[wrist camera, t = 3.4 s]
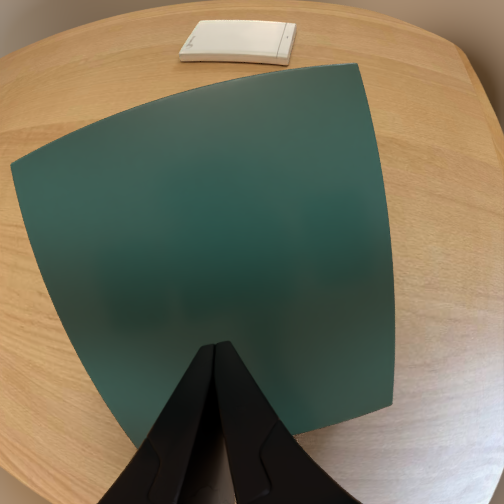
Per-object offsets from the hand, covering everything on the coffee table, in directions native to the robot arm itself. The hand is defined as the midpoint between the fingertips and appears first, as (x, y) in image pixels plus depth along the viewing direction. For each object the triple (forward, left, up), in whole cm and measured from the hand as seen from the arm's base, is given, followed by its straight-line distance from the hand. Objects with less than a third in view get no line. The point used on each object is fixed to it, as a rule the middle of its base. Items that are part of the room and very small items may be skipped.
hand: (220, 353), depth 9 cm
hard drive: (+33, +5, -13) cm, 36 cm away
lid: (+2, +1, -2) cm, 3 cm away
